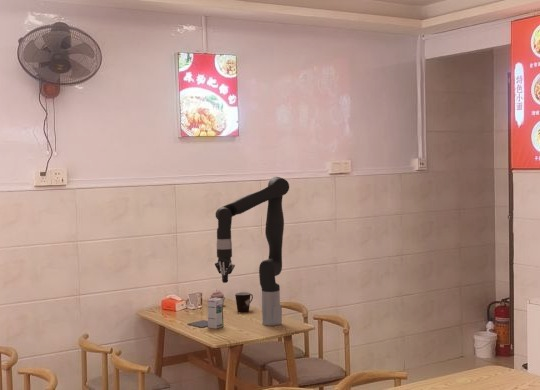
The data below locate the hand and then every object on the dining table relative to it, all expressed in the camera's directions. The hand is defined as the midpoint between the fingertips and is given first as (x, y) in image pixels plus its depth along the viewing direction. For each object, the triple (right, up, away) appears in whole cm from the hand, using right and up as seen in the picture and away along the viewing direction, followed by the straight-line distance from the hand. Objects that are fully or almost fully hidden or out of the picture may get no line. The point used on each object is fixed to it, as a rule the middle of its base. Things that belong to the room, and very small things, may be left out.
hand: (225, 282), depth 348 cm
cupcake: (-8, -22, +62) cm, 66 cm away
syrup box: (-5, -24, +6) cm, 25 cm away
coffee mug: (+9, -22, +45) cm, 51 cm away
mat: (-12, -23, +13) cm, 30 cm away
